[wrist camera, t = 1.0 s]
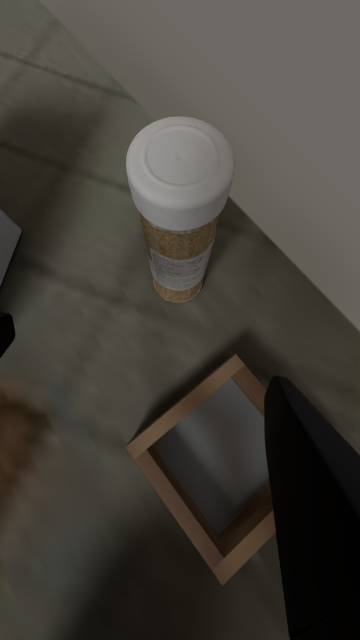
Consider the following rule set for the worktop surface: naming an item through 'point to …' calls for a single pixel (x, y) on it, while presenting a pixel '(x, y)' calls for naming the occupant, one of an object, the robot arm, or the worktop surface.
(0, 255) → the tea box
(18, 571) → the worktop surface
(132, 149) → the sprinkles bottle
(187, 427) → the square wooden tray
